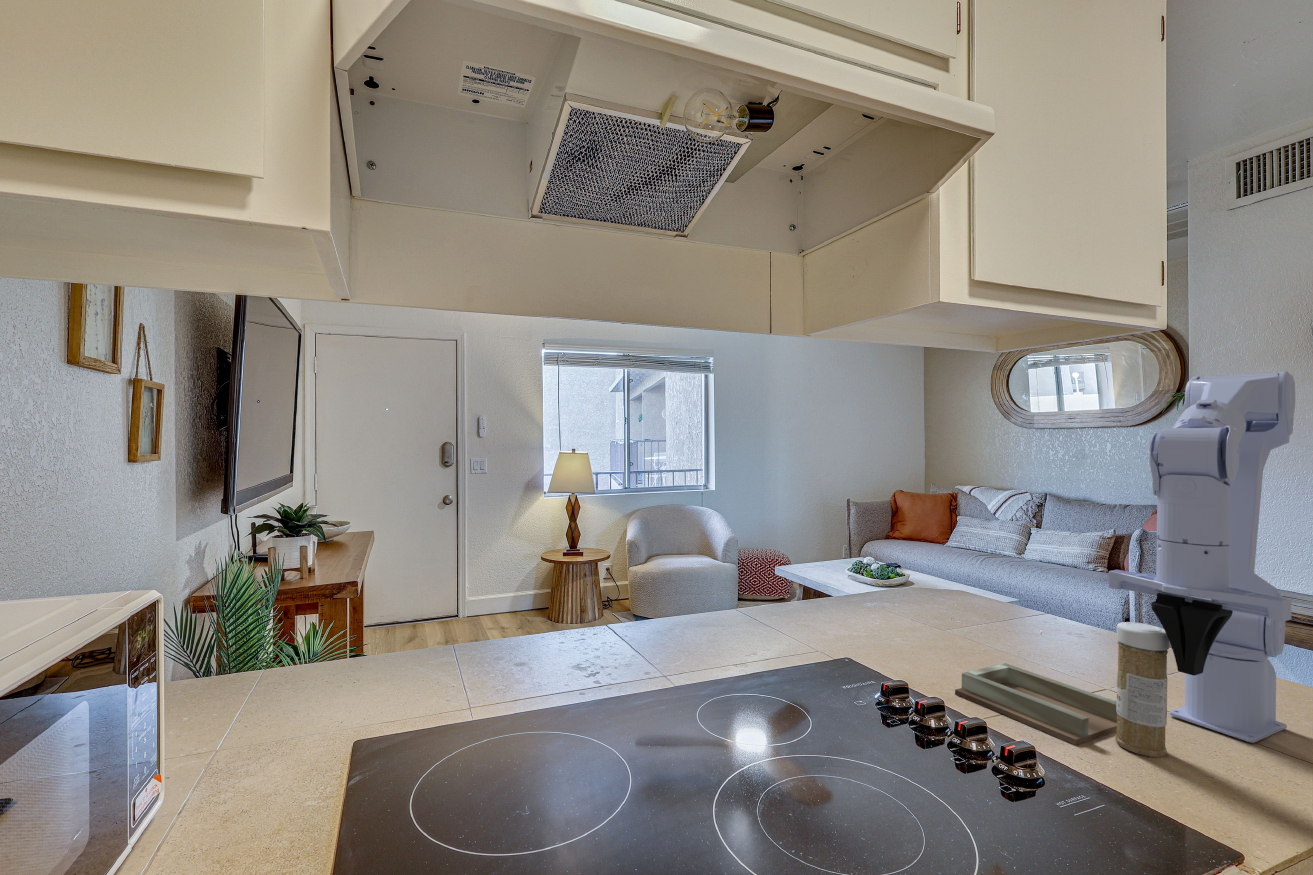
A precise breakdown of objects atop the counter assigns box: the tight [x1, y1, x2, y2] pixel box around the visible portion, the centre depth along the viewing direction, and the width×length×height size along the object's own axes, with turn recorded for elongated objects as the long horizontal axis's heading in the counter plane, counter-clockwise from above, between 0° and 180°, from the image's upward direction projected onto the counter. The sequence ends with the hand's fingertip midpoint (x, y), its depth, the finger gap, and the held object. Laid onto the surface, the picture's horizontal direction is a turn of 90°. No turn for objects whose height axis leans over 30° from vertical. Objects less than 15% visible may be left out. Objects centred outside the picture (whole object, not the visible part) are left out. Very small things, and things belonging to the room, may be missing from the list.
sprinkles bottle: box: [1114, 621, 1170, 758], centre depth 67 cm, size 5×5×13 cm
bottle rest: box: [954, 663, 1117, 746], centre depth 77 cm, size 12×15×3 cm
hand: (1190, 672), depth 63 cm, fingers closed
